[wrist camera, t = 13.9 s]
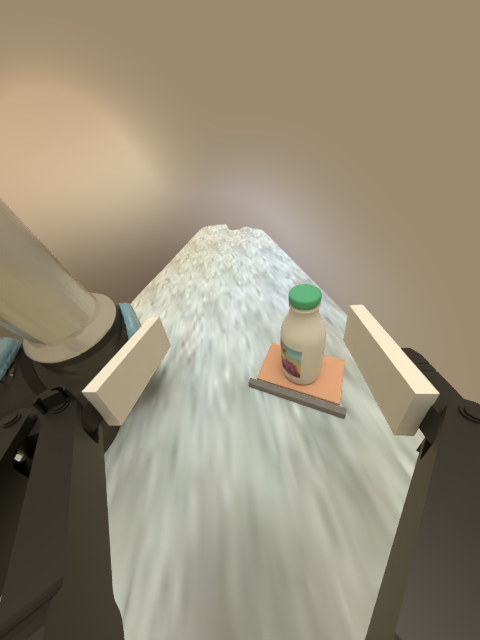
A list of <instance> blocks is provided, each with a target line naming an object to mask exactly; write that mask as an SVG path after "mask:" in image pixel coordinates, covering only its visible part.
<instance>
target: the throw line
mask: <svg viewBox="0 0 480 640" xmlns="http://www.w3.org/2000/svg"><path fill="white" fill-rule="evenodd" d="M249 387H252V388H255V389H258V390H261V391H264V392H267V393H270V394H273V395H276V396H279V397H282V398H285V399H288V400H291V401H294V402H297V403H300V404H302V405H305V406H308V407H311V408H314V409H317V410H320V411H323V412H326V413H329V414H332V415H335V416H338V417H341V418H345V416H346V408H344V407H340V406H337V405H334V404H331V403H328V402H325V401H322V400H318V399H315V398H312V397H309V396H306V395H303V394H300V393H296V392H293V391H290V390H287V389H284V388H281V387H278V386H274V385H271V384H268V383H265V382H262V381H259V380H256V379H252V378H250V380H249Z"/></svg>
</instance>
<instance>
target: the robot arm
mask: <svg viewBox="0 0 480 640" xmlns="http://www.w3.org/2000/svg"><path fill="white" fill-rule="evenodd" d="M0 325H1V326H3V327H5V328H7V329H8V330H10V331H12V332H14V333H15V334H17V335H19V336H21V337H23V338H24V341H23V345H22V344H21V343H20V341H18V340H15V339H12V338H0V597H1V595H2V597H1V601H0V640H124V631H123V623H122V618H121V614H120V610H119V608H118V606H117V604H116V602H115V600H114V596H113V587H112V571H111V556H110V540H109V524H108V509H107V493H106V477H105V462H104V452H105V451H106V450H107V449H108V447H109V446H110V444H111V443H112V441H113V440H114V438H115V436H116V434H117V432H118V430H119V427H120V426H122V425H123V423H124V421H125V420H126V418H127V417H128V415H129V413H130V412H131V410H132V408H133V407H134V405H135V403H136V402H137V400H138V399H139V397H140V395H141V394H142V392H143V390H144V389H145V387H146V385H147V384H148V382H149V381H150V379H151V377H152V376H153V374H154V372H155V371H156V369H157V367H158V366H159V364H160V362H161V361H162V359H163V358H164V356H165V354H166V353H167V351H168V349H169V348H170V346H171V345H170V342H169V340H168V337H167V335H166V332H165V330H164V327H163V325H162V322H161V320H160V317H150V318H149V319H148V320H147V321H146V322H145V323H144V324H143V325H142V326H141V324H140V322H139V320H138V317H137V315H136V313H135V311H134V310H133V308H132V306H131V305H130V304H129V303H119V304H118V305H117V306H116V305H115V304H114V303H113V302H112V300H111V299H109V298H108V297H107V296H105V295H102V294H97V293H89V292H88V291H87V290H86V289H85V288H84V287H83V286H82V285H81V284H80V283H79V282H78V280H77V279H76V278H75V277H74V276H73V275H72V274H71V273H70V272H69V271H68V270H67V269H66V268H65V267H64V266H63V265H62V264H61V262H60V261H59V260H58V259H57V258H56V257H55V256H54V255H53V254H52V253H51V252H50V251H49V250H48V249H47V247H46V246H45V245H44V244H43V243H42V242H41V241H40V240H39V239H38V238H37V237H36V236H35V235H34V234H33V233H32V232H31V230H30V229H29V228H28V227H27V226H26V225H25V224H24V223H23V222H22V221H21V220H20V219H19V218H18V217H17V216H16V215H15V213H14V212H13V211H12V210H11V209H10V208H9V207H8V206H7V205H6V204H5V203H4V202H3V201H2V200H1V199H0ZM343 340H344V342H345V344H346V346H347V348H348V349H349V351H350V353H351V355H352V357H353V359H354V361H355V363H356V365H357V366H358V368H359V370H360V372H361V374H362V376H363V378H364V380H365V381H366V383H367V385H368V387H369V389H370V391H371V393H372V395H373V396H374V398H375V400H376V402H377V404H378V406H379V408H380V410H381V411H382V413H383V415H384V417H385V419H386V421H387V423H388V425H389V426H390V428H391V430H392V432H393V434H394V435H404V436H414V435H415V434H416V432H417V430H418V429H419V428H420V430H421V431H422V433H423V435H424V436H425V438H424V440H423V441H422V443H421V444H420V446H419V447H418V449H417V450H416V451H418V452H419V455H418V459H417V462H416V466H415V469H414V473H413V476H412V480H411V483H410V486H409V490H408V493H407V497H406V500H405V504H404V507H403V511H402V514H401V518H400V521H399V524H398V528H397V531H396V535H395V538H394V542H393V545H392V549H391V552H390V556H389V559H388V563H387V566H386V569H385V573H384V576H383V580H382V583H381V587H380V590H379V594H378V597H377V601H376V604H375V607H374V611H373V614H372V618H371V621H370V625H369V628H368V632H367V635H366V638H365V640H480V405H479V404H478V403H476V402H472V401H469V400H466V399H463V398H462V397H461V396H460V395H459V394H458V392H457V391H456V390H455V389H454V388H453V387H452V386H451V385H450V384H449V383H448V382H447V381H446V380H445V379H444V378H443V377H442V376H441V375H440V374H439V373H438V372H436V370H435V369H434V368H433V367H432V365H429V362H428V361H427V360H426V359H424V357H423V356H422V355H421V354H419V353H417V352H416V351H414V350H413V349H411V348H400V347H399V346H398V345H397V344H396V343H395V342H394V340H393V339H392V338H391V337H390V336H389V335H388V334H387V332H386V331H385V330H384V329H383V328H382V327H381V326H380V324H379V323H378V322H377V321H376V320H375V319H374V317H373V316H372V315H371V314H370V313H369V312H368V310H366V308H365V307H364V306H363V305H352V306H349V312H348V317H347V323H346V328H345V333H344V339H343ZM16 454H20V455H21V456H22V459H21V461H20V462H18V461H16V460H15V459H14V458H15V456H16Z"/></svg>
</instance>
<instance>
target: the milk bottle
mask: <svg viewBox="0 0 480 640" xmlns="http://www.w3.org/2000/svg"><path fill="white" fill-rule="evenodd" d="M321 295H322V294H321V291H320V289H319V288H317V287H315V286H313V285H308V284H302V285H298V286H295V287H293V288H292V289H291V290H290V292H289V307H290V310H289V312H288V314H287V316H286V317H285V319H284V321H283V323H282V327H281V358H282V370H283V373H284V375H285V376H286V377H287V378H288V379H289V380H290V381H291V382H293V383H296V384H300V385H306V384H310V383H312V382H314V381H315V380H316V379H317V378H318V377H319V375H320V371H321V366H322V360H323V354H324V348H325V341H326V328H325V324H324V321H323V319H322V317H321V315H320V313H319V309H318V308H319V307H320V304H321V303H320V302H321Z"/></svg>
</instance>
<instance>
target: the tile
mask: <svg viewBox="0 0 480 640" xmlns="http://www.w3.org/2000/svg"><path fill="white" fill-rule="evenodd" d="M344 363H345V360H343V359H338V358H334V357H330V356H325V355H323V360H322V366H321V371H320V375H319V377H318V378H317V379H316V380H315V381H314V382H312V383H310V384H306V385H300V384H296V383H293V382H291V381H290V380H289V379H288V378H287V377H286V376H285V375H284V373H283V370H282V358H281V345H277V344H273V343H272V345H271V347H270V349H269V352H268V354H267V356H266V358H265V361H264V363H263V365H262V368H261V370H260V372H259V375H258V377H257V379H258V380H261V381H264V382H267V383H270V384H273V385H277V386H280V387H283V388H286V389H289V390H292V391H295V392H299V393H302V394H305V395H308V396H311V397H314V398H318V399H321V400H324V401H327V402H330V403H333V404H336V405H340V398H341V389H342V380H343V371H344Z"/></svg>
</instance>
